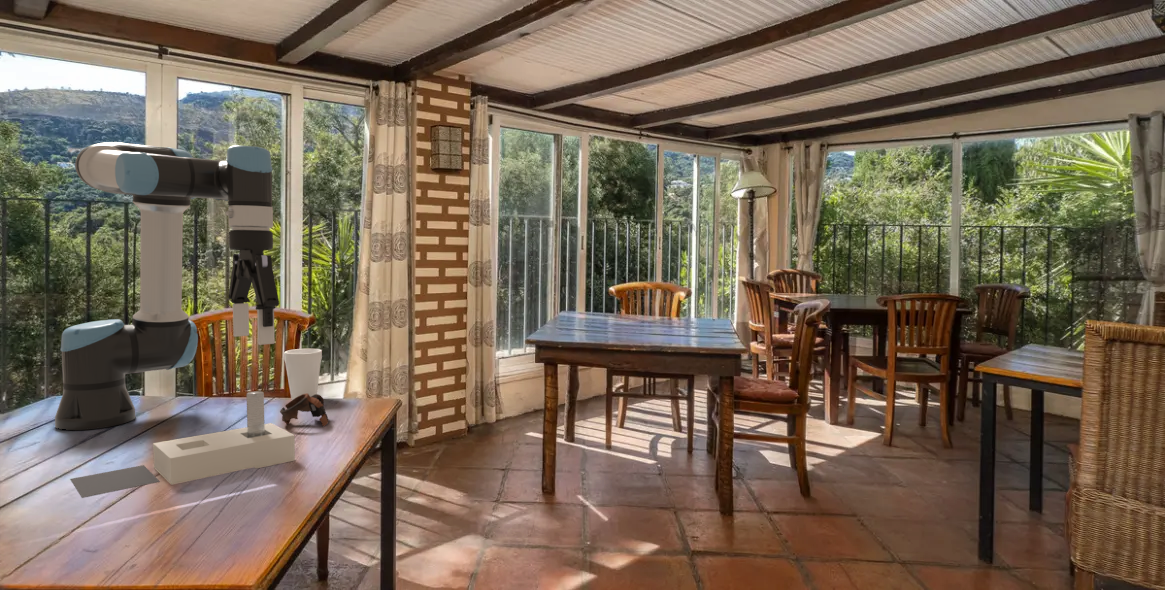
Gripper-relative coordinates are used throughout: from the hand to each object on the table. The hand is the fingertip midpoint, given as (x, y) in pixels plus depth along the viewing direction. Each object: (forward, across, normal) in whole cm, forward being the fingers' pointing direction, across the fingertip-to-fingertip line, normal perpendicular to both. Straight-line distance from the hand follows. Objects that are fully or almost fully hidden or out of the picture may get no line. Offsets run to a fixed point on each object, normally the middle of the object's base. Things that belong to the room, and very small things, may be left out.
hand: (253, 340), depth 129 cm
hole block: (+23, 0, -6) cm, 24 cm away
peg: (+23, 0, 0) cm, 23 cm away
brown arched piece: (+24, -19, +18) cm, 35 cm away
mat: (+23, -3, -22) cm, 33 cm away
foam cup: (+24, -45, +28) cm, 58 cm away
